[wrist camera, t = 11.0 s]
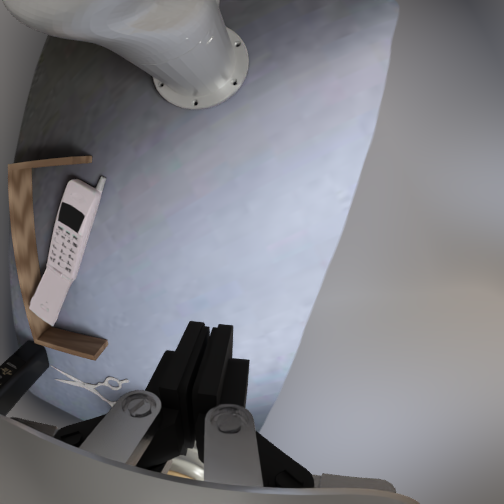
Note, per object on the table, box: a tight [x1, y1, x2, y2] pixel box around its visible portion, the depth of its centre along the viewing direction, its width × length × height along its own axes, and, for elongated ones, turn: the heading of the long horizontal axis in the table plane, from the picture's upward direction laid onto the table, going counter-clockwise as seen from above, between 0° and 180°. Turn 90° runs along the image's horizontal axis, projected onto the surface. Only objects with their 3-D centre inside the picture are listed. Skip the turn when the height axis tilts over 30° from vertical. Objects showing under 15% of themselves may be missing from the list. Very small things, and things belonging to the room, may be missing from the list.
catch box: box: [8, 156, 108, 361], centre depth 40 cm, size 31×14×5 cm, turn 177°
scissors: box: [50, 365, 129, 407], centre depth 51 cm, size 11×1×20 cm
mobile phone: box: [29, 176, 106, 326], centre depth 39 cm, size 6×6×25 cm
